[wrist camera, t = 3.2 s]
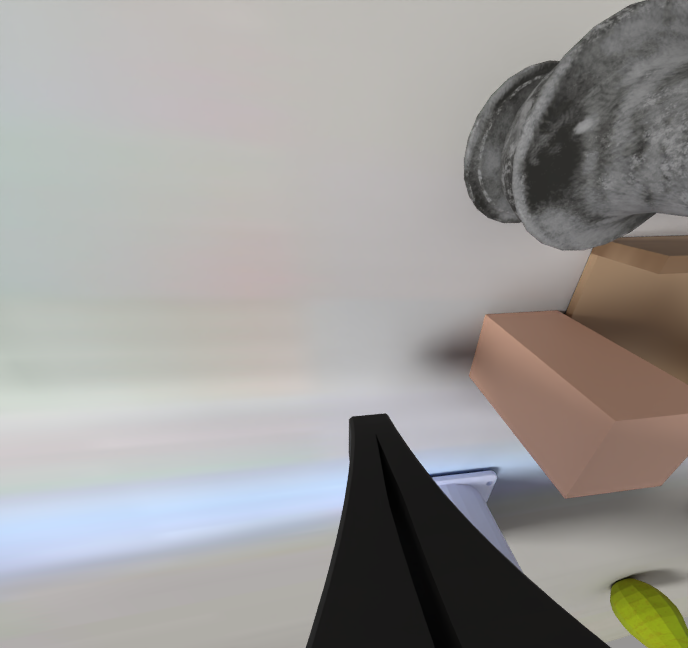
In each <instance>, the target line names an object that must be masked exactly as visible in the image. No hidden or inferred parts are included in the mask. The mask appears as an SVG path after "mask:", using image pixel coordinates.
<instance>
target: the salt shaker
mask: <svg viewBox="0 0 688 648" xmlns="http://www.w3.org/2000/svg"><path fill="white" fill-rule="evenodd" d="M464 179H465V183H466V187H467V190H468V194H469V197H470V198H471V200H472V201H473V203H474V205H475V206H476V208H477V209H478V210H479V211H480V212H482V213H483V214H484V215H485V216H487V217H488V218H491V219H493V220H496V221H499V222H502V223H520V222H522V223H523V225H524V227H525V228H526V230H527V231H528V232H529V233H530V234H531V235H532V236H534V237H535V238H536V239H537V240H538V241H539V242H541V243H542V244H545V245H548V246H551V247H554V248H557V249H560V250H586V249H590V248H594V247H597V246H601V245H605V244H607V243H609V242H611V241H613V240H615V239H617V238H619V237H621V236H623V235H625V234H627V233H629V232H631V231H633V230H634V229H635V228H637V227H638V226H640V225H641V224H642V223H644V222H645V221H646V220H648V219H649V218H650V217H652V216H653V215H654V214H656V213H663V214H671V215H678V216H686V217H688V0H645V1H642V2H638V3H635V4H631V5H629V6H627V7H626V8H624V9H622V10H621V11H619V12H617V13H616V14H614V15H613V16H611V17H609V18H608V19H606V20H604V21H603V22H601V23H600V24H598V25H596V26H595V27H593V28H592V29H591V30H590V31H589V32H588V33H587V34H586V35H585V36H584V37H583V38H582V39H581V40H580V41H579V42H578V43H577V44H576V45H575V46H574V47H573V48H572V49H571V50H569V51H568V52H567V53H566V54H565V55H564V57H563V58H562V59H561V61H546V62H543V63H539V64H535V65H532V66H529V67H527V68H525V69H524V70H522V71H520V72H519V73H517V74H515V75H514V76H512V77H511V78H509V79H508V80H507V81H506V82H505V83H504V84H503V85H502V86H501V87H500V88H499V89H497V90H496V91H495V92H494V93H493V94H492V95H491V97H490V98H489V100H488V101H487V103H486V104H485V106H484V107H483V109H482V110H481V112H480V113H479V115H478V116H477V119H476V121H475V123H474V126H473V128H472V131H471V133H470V135H469V138H468V142H467V147H466V152H465V157H464Z"/></svg>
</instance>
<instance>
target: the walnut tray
mask: <svg viewBox="0 0 688 648" xmlns="http://www.w3.org/2000/svg"><path fill="white" fill-rule="evenodd" d="M565 315H567V316H568V317H570V318H572V319H574V320H575V321H577V322H579V323H581V324H582V325H584V326H586V327H588V328H589V329H591V330H593V331H595V332H596V333H598V334H600V335H602V336H603V337H605V338H607V339H609V340H610V341H612V342H614V343H616V344H617V345H619V346H621V347H623V348H624V349H626V350H628V351H630V352H631V353H633V354H635V355H637V356H638V357H640V358H642V359H644V360H645V361H647V362H649V363H651V364H652V365H654V366H656V367H658V368H659V369H661V370H663V371H665V372H666V373H668V374H670V375H672V376H673V377H675V378H677V379H679V380H680V381H682V382H684V383H686V384H687V385H688V235H686V236H654V237H621V238H617V239H615V240H613V241H611V242H609V243H607V244H605V245H601V246H597V247H594V248H593V249H592V252H591V254H590V256H589V259H588V261H587V263H586V266H585V268H584V271H583V273H582V275H581V278H580V280H579V282H578V285H577V287H576V289H575V292H574V294H573V297H572V299H571V301H570V304H569V306H568V308H567V311H566V313H565Z"/></svg>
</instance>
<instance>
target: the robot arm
mask: <svg viewBox="0 0 688 648" xmlns="http://www.w3.org/2000/svg"><path fill="white" fill-rule="evenodd" d="M349 459H350V464H349V474H348V481H347V487H346V493H345V499H344V505H343V510H342V515H341V520H340V525H339V529H338V534H337V538H336V543H335V547H334V551H333V555H332V559H331V563H330V567H329V571H328V574H327V578H326V582H325V585H324V589H323V592H322V596H321V599H320V602H319V606H318V609H317V613H316V616H315V619H314V623H313V626H312V630H311V633H310V636H309V639H308V643H307V646H306V648H610V647H609V646H608V645H607V644H606V643H604V642H603V641H602V640H601V639H600V638H598V637H597V636H596V635H595V634H593V633H592V632H591V631H590V630H588V629H587V628H586V627H585V626H584V625H582V624H581V623H580V622H579V621H578V620H576V619H575V618H574V617H573V616H572V615H570V614H569V613H568V612H567V611H566V610H564V609H563V608H562V607H561V606H560V605H558V604H557V603H556V602H555V601H554V600H553V599H552V598H550V597H549V596H548V595H547V594H546V593H545V592H544V591H542V590H541V589H540V588H539V587H538V586H537V585H536V584H534V583H533V582H532V581H531V580H530V579H529V578H528V577H527V576H526V575H525V574H523V572H522V570H521V568H520V566H519V564H518V562H517V561H516V559H515V557H514V555H513V553H512V551H511V549H510V547H509V546H508V544H507V542H506V540H505V538H504V536H503V534H502V533H501V531H500V529H499V527H498V525H497V523H496V521H495V519H494V518H493V516H492V514H491V512H490V510H489V508H488V506H487V504H486V503H487V501H488V498H489V496H490V494H491V491H492V489H493V487H494V484H495V482H496V480H497V475H496V474H495V472H494V471H481V472H473V473H464V474H456V475H447V476H439V477H431V476H430V475H429V474H428V472H427V471H426V470H425V469H424V467H423V466H422V465H421V463H420V462H419V461H418V459H417V458H416V457H415V455H414V454H413V453H412V451H411V450H410V448H409V447H408V446H407V444H406V443H405V441H404V440H403V438H402V437H401V435H400V434H399V432H398V431H397V429H396V428H395V426H394V425H393V423H392V421H391V420H390V418H389V416H388V415H387V414H375V415H365V416H354V417H351V418H350V419H349Z"/></svg>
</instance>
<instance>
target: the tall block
mask: <svg viewBox="0 0 688 648" xmlns="http://www.w3.org/2000/svg"><path fill="white" fill-rule="evenodd" d="M469 377H470V378H471V379H472V381H473V382H474V383H475V384H476V386H477V387H478V388H479V389H480V391H481V392H482V393H483V395H484V396H485V397H486V398H487V400H488V401H489V402H490V404H491V405H492V406H493V407H494V409H495V410H496V411H497V413H498V414H499V415H500V416H501V418H502V419H503V420H504V421H505V423H506V424H507V425H508V427H509V428H510V429H511V430H512V432H513V433H514V434H515V436H516V437H517V438H518V439H519V441H520V442H521V443H522V445H523V446H524V447H525V448H526V450H527V451H528V452H529V453H530V455H531V456H532V457H533V459H534V460H535V461H536V462H537V464H538V465H539V466H540V468H541V469H542V470H543V471H544V473H545V474H546V475H547V477H548V478H549V479H550V480H551V482H552V483H553V484H554V485H555V487H556V488H557V489H558V491H559V492H560V493H561V494H562V496H563V497H564V498H565V499H567V498H574V497H582V496H589V495H597V494H604V493H611V492H619V491H626V490H634V489H641V488H649V487H656V486H661V485H662V484H663V483H664V482H665V481H666V480H667V479H668V478H669V476H670V475H671V474H672V473H673V472H674V471H675V470H676V469H677V468H678V467H679V465H680V464H681V463H682V462H683V461H684V460H685V459H686V458H687V457H688V385H687V384H686V383H684V382H682V381H680V380H679V379H677V378H675V377H673V376H672V375H670V374H668V373H666V372H665V371H663V370H661V369H659V368H658V367H656V366H654V365H652V364H651V363H649V362H647V361H645V360H644V359H642V358H640V357H638V356H637V355H635V354H633V353H631V352H630V351H628V350H626V349H624V348H623V347H621V346H619V345H617V344H616V343H614V342H612V341H610V340H609V339H607V338H605V337H603V336H602V335H600V334H598V333H596V332H595V331H593V330H591V329H589V328H588V327H586V326H584V325H582V324H581V323H579V322H577V321H575V320H574V319H572V318H570V317H568V316H567V315H565V314H563V313H561V312H559V311H558V310H553V311H536V312H519V313H502V314H486V315H485V318H484V322H483V326H482V329H481V333H480V337H479V340H478V344H477V348H476V351H475V355H474V359H473V363H472V366H471V370H470V374H469Z"/></svg>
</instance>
